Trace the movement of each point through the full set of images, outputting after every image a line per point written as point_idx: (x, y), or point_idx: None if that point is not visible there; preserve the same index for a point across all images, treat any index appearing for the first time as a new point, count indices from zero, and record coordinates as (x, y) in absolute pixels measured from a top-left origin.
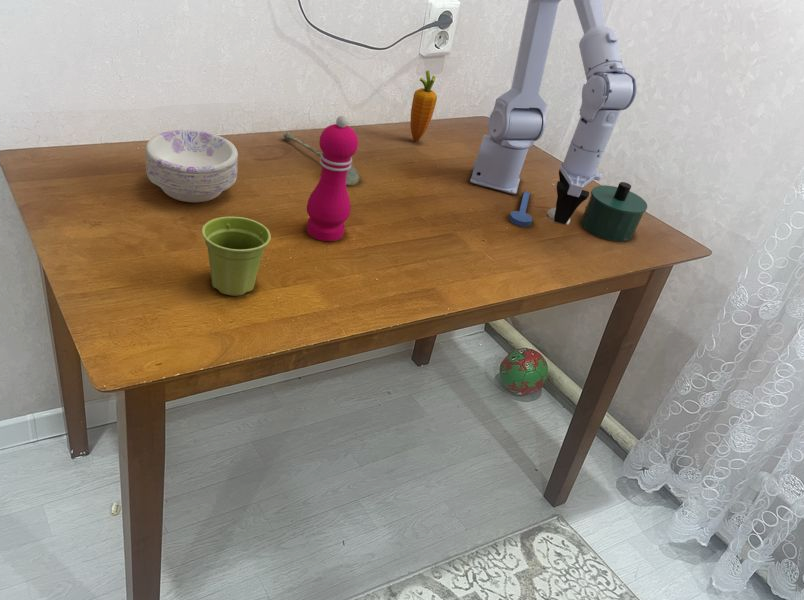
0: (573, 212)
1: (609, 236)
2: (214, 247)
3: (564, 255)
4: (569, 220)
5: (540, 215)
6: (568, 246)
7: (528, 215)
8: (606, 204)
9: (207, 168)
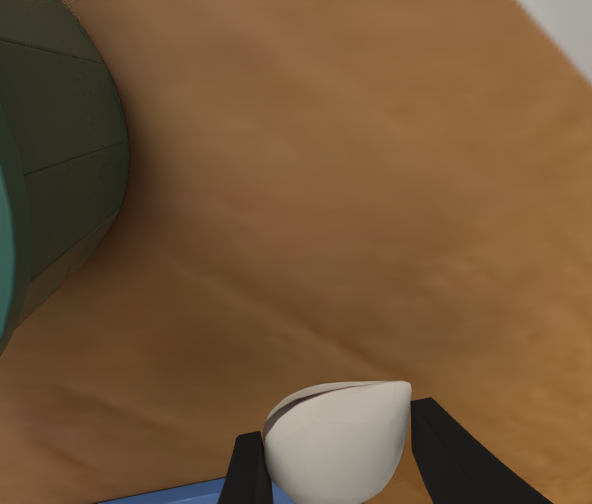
0: (507, 469)
1: (109, 92)
2: None
3: (475, 269)
4: (370, 394)
5: (156, 439)
6: (375, 274)
7: None
8: (8, 288)
9: None
